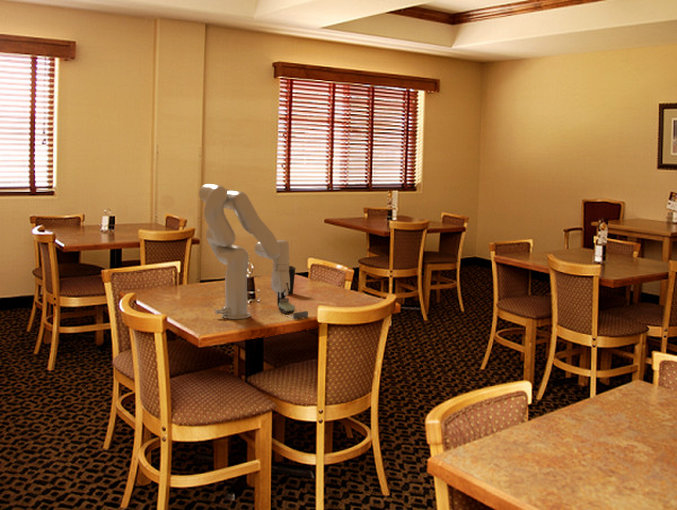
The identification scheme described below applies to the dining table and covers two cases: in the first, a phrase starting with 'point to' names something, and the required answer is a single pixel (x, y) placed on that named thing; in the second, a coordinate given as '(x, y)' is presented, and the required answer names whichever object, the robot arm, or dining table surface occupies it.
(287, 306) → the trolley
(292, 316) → the dock
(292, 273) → the drinking cup
